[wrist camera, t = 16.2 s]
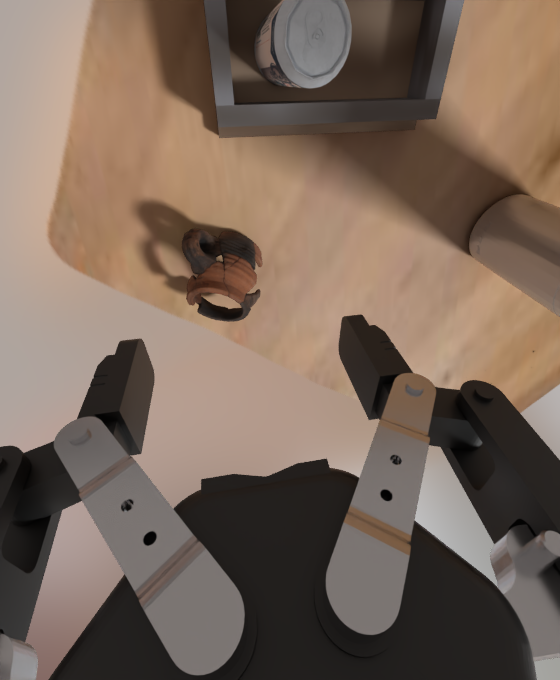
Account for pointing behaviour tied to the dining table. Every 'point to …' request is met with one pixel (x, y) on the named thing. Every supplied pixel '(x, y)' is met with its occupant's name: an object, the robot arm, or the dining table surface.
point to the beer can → (303, 42)
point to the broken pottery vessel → (221, 272)
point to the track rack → (352, 80)
